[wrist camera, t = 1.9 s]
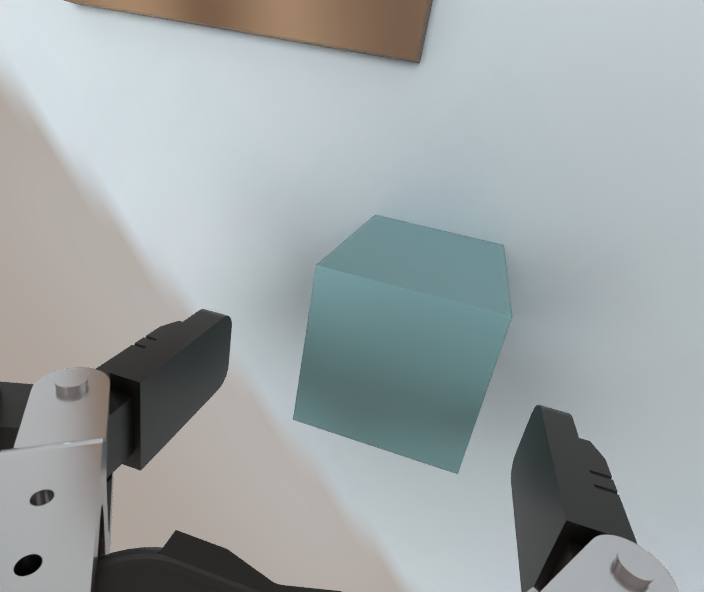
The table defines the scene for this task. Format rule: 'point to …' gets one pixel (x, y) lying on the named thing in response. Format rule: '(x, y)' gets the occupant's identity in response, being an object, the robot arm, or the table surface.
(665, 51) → the table surface
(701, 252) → the table surface
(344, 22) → the walnut board
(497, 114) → the table surface
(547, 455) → the robot arm
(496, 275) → the teal block
